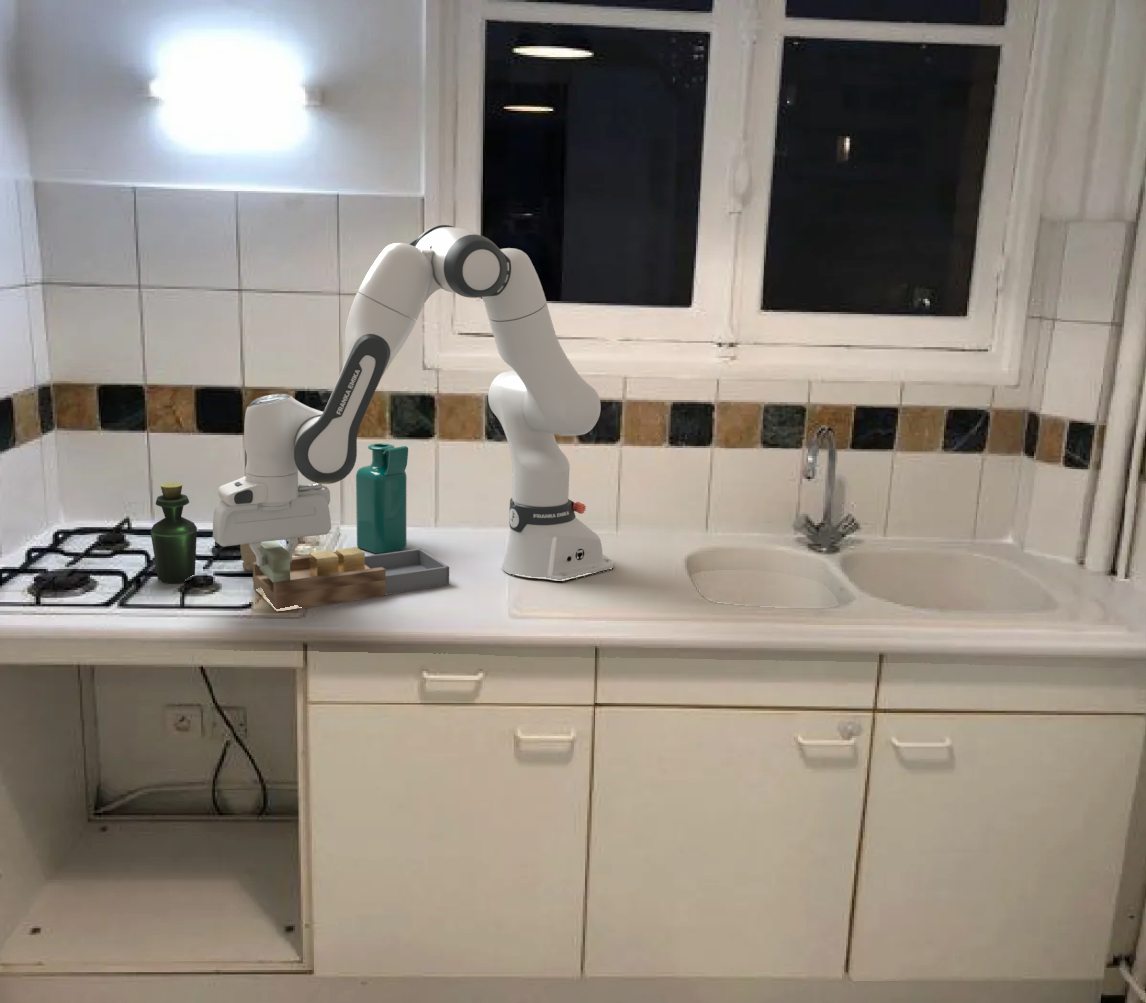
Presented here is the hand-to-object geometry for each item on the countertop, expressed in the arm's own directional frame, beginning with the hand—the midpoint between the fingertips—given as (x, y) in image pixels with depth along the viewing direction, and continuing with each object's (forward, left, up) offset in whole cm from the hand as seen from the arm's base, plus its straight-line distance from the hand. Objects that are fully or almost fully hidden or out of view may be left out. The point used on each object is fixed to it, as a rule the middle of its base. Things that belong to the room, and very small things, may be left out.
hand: (274, 563), depth 193 cm
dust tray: (-25, 0, -7) cm, 26 cm away
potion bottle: (+13, -19, -7) cm, 24 cm away
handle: (-1, -19, -7) cm, 20 cm away
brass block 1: (-9, 0, -4) cm, 10 cm away
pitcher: (-29, -21, -7) cm, 36 cm away
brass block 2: (-14, 0, -4) cm, 15 cm away
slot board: (-8, 0, -7) cm, 11 cm away
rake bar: (0, 0, -2) cm, 2 cm away
